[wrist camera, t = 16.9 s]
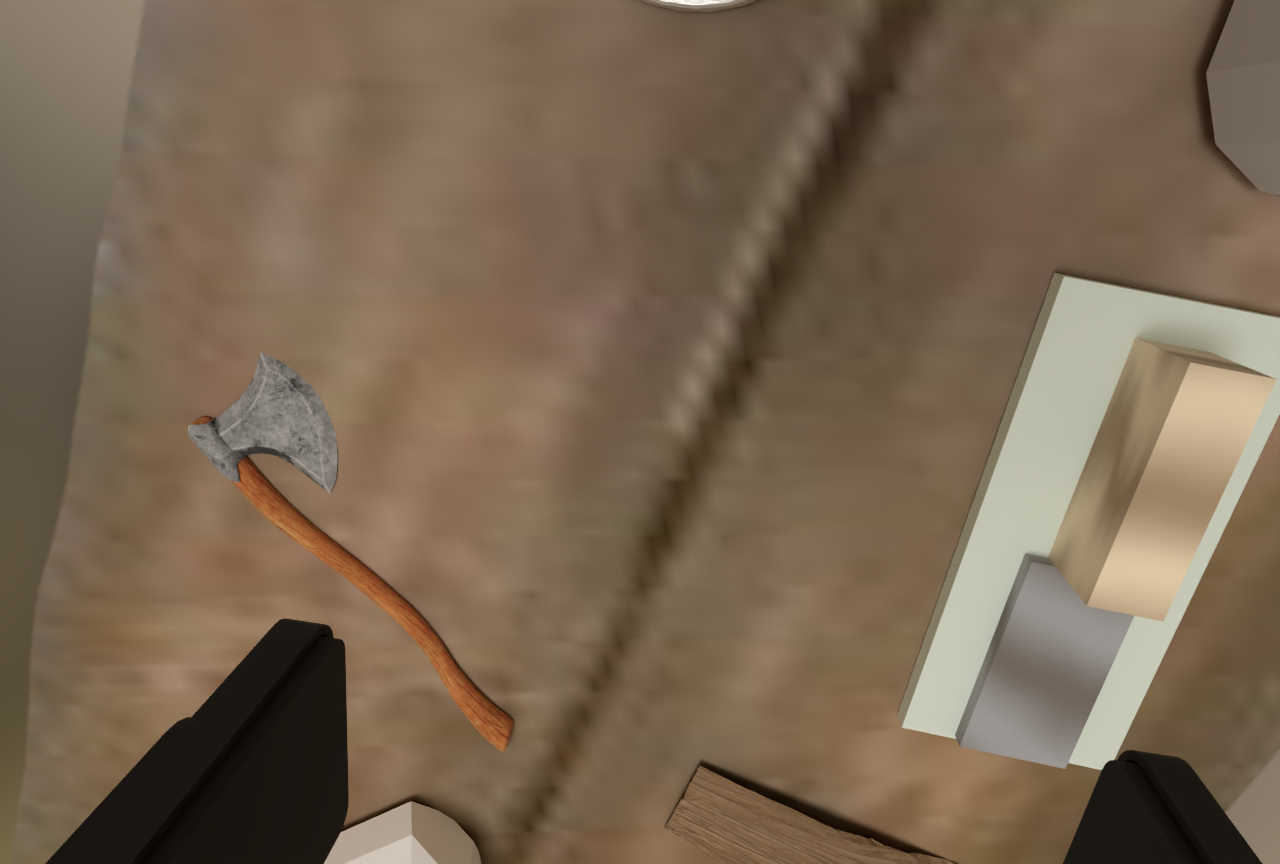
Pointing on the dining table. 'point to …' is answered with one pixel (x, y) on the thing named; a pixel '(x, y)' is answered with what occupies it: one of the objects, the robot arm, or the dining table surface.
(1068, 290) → the board
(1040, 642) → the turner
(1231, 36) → the jar
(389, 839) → the crystal
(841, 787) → the dining table surface
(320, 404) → the axe
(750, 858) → the wood plank
